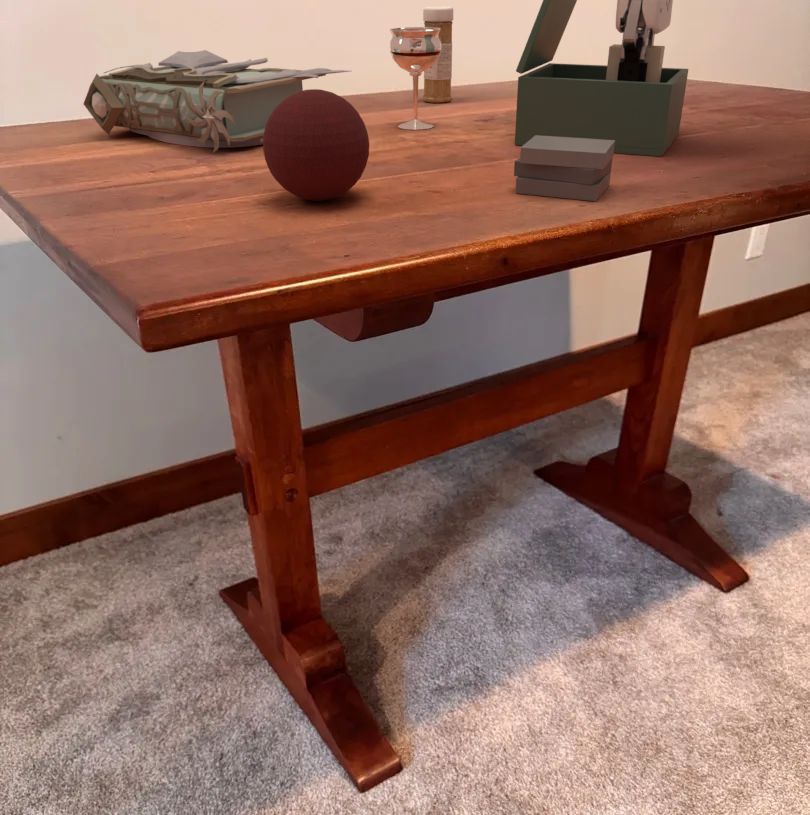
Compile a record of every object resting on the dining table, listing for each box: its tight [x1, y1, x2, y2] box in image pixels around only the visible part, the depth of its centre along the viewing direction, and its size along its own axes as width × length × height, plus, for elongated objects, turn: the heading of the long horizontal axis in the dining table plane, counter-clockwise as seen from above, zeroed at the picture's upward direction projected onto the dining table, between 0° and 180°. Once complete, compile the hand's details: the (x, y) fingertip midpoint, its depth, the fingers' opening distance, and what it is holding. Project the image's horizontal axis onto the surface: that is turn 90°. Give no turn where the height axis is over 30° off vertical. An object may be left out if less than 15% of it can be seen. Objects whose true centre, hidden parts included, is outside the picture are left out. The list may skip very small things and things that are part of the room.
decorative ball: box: [262, 88, 370, 202], centre depth 75 cm, size 10×10×10 cm
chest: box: [514, 62, 689, 157], centre depth 98 cm, size 18×14×8 cm
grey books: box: [513, 135, 615, 202], centre depth 79 cm, size 9×7×4 cm
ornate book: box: [83, 49, 351, 154], centre depth 105 cm, size 23×10×30 cm
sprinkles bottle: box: [422, 5, 454, 104], centre depth 123 cm, size 5×5×14 cm
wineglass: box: [389, 26, 441, 131], centre depth 106 cm, size 7×7×12 cm
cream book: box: [606, 43, 666, 83], centre depth 95 cm, size 6×2×8 cm, turn 66°
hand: (631, 95), depth 96 cm, fingers closed on cream book, 2 cm apart
